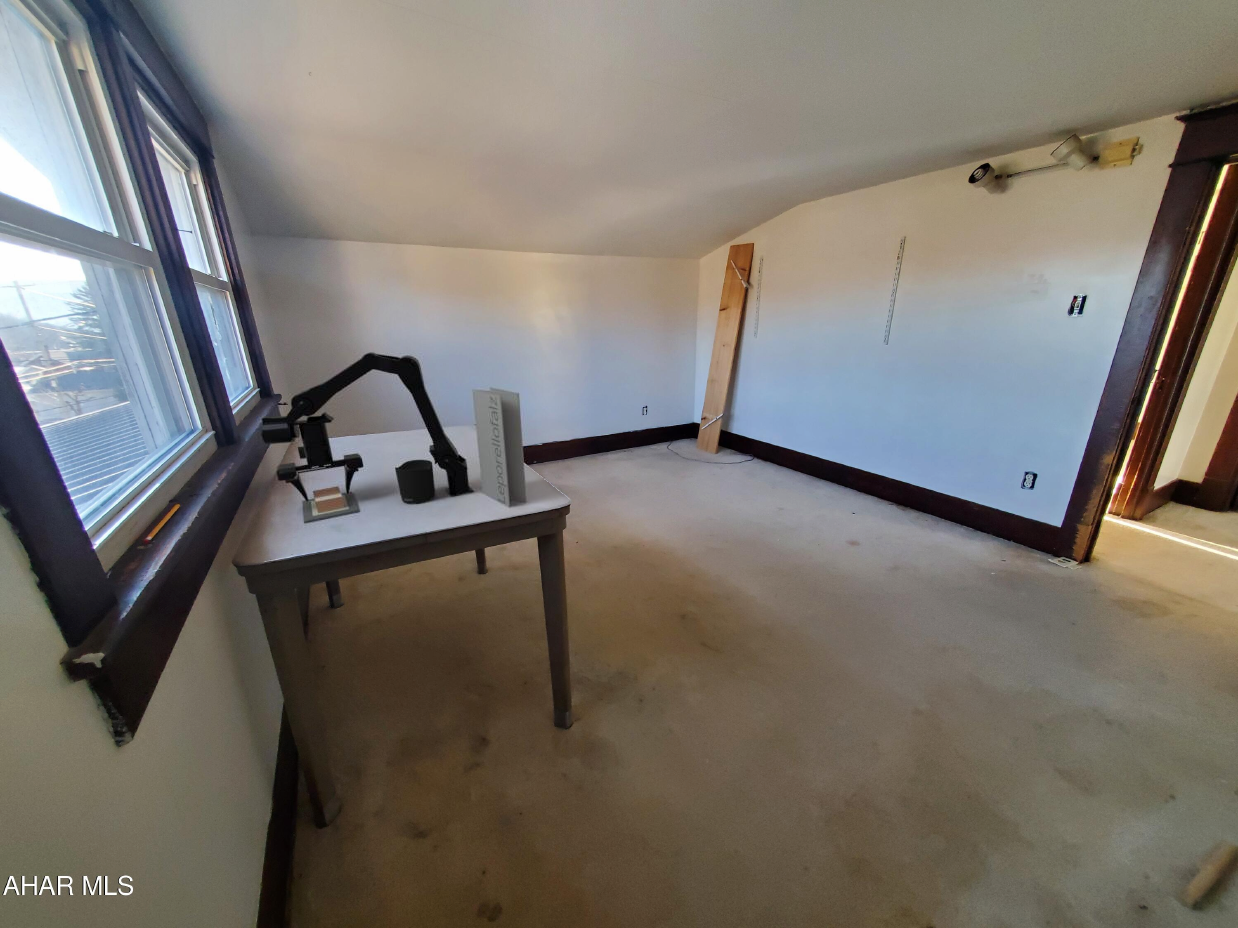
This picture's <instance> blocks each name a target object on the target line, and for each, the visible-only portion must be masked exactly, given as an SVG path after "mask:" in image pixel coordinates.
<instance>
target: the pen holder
mask: <svg viewBox="0 0 1238 928" xmlns="http://www.w3.org/2000/svg"><path fill="white" fill-rule="evenodd" d="M433 468H434V467H433V462H432V461H431V460H429V459H411V460H408V461H406V462H404V463H402V464H401V465H400V466H398V467H394V469H395V475H396V480H397V485H398V488H399V493H400V499H401V502H403V503H405V504H407V505H408V504H409V505H419V504H424V503H427V502H430V501H432V500H433V499H434V498H435V496H436V494H435V493H436V492H435V491H436V489H435V476H434V469H433Z"/></svg>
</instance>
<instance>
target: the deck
mask: <svg viewBox="0 0 1238 928" xmlns="http://www.w3.org/2000/svg"><path fill="white" fill-rule="evenodd" d="M341 493H342V492H341V489H340V487H339V485H338V486H337V485H336V486H331V487H326V488H321V489H316V490H312V494H313V499H315V503H316V507H317V511H318V513H323V512H328V511H332V510H337V509H342V508H345V506H344V501H343V497H342V494H341Z"/></svg>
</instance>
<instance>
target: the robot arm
mask: <svg viewBox="0 0 1238 928" xmlns="http://www.w3.org/2000/svg"><path fill="white" fill-rule="evenodd" d="M373 370H375V371H379V372H384V373H388V374H391V375H392V374H394V375H397V377H398V378H399V379H400V381H401V382H402V384H403V386H405V388H406V389H407V390H408V391H409V393H410V394H411V396H412V398H413V401H414V403H415V405H416V407H417V410H418V412H419V415H420V417H421V418H422V421H423V423H424V425H425V427H426V430H427V432H428V434H429V436H430V438H431V441H432V444H431V445H429V451H428V452H429V453H430V455H431V456H432V458H433V460H434V465H437V466H438V468H440V469H441V470H444V471H445V473H446V479H447V487H445V489H444V491H445V492H446V493H447V494H448V495H449V496H450V497H455V496H459V495H464V494H470V493H473V492H474V489H473V488H472V487H471V486H470V483H469V473H468V463H467V459H466V458H465V457H463V456H462V455H461V454H459V452H458V449H457V448H456V447H455V445H454V444H453V442H452V440H451V439H450V437H448V435H447V434H446V433H445V430H444V428H443V426H442V423H441V421H440V419H439V417H438V415H437V412H436V409H435V407H434V405H433V402H432V401H431V398H430V396H429V394H428V391H427V389H426V386H425V380H424V375H423V371H422V368H421V363H420V362H419V360H418V359H417V358H416V357H414V356H413V355H408V354H407V355H403V356H401V357H399V356H394V355H386V354H380V353H376V352H367V353H365V354H364V355H363V356H362V357H361V358H360V359H358V360H356V361H355V362H354V363H352V364H350V365H349V366H347V367H346V368H344V369H343V370H341V371H340V372H337V374H334V375H333V376H332V377H330V378H329V379H328V380H326V381H324V382H321V383H319V384H316V385H313V386H311V387H309V388H306V389H305V390H302V391H300V392H298V393H297V394H295V395H294V396H293V397H292V398H291V399H290V406H291V409H290V410H289V412H288V413H287V414H286V415H282V416H281V415H280V416H279V415H278V416H269V415H268V416H267V415H266V416H263V417H262V418H261V421H262V424H261V433H260V434H261V435H260V436H261V438H262V441H263V442H264V444H265V445H275V444H276V445H277V444H287V443H295V442H296V439H299V438H300V439H301V441H302V446H297V451H298V456H299V459H300V460H303V459H304V460H305V459H306V464H303V465H301V464H300V465H297V464H296V462H290V463H283V464H278V466H277V467H276V476H277V480H278V481H279V482H282V481H285V483H286V484H289V483H290V484H291V485H292V486H294V488H295V489H297V491H298V492H299V494H300V495H301V496H302V497H303V498H304V499H303V500H306V501H308V499H309V497H308V493H307V490H306V488H305V486H304V483H303V481H302V478H301V476H300V474H305V473H309V472H316V471H322V470H329V469H336V468H341V467H343V468H344V481H345V482H344V483H345V486H344V487H345V491H346V492H347V494H349V492H350V490H351V484H352V481H353V478H354V475H355V473H357V472H359V469H362V468H364V463H363V457H362V456H361V454H359V453H351V454H343V458H342V459H336V460H335V459H334V458H333V453H332V447H331V444H330V440H329V439H330V438H329V434H328V429H327V424H331V423H332V422H333V421H334V420H335V417H333V416H331V415H330V414H328V413H327V412H326V411H325V412H323V413H321V415H315V414H316V413H317V412H319V411H320V410H321V409H322V408H323V407H325V405H326V404H327V403H328V402H330V400H332V399H333V397H334V396H335V395H336V394H338V393H339V392H341V391H342V390H344V389H345V388H347V387H348V386H350V385H351V384H352V383H354V382H356V381H358V380H359V379H361V378H362V377H363V376H365V375H367V374H368V373H369V372H371V371H373ZM303 416H304V417H307V418H306V419H303V420H301V418H302V417H303ZM300 436H301V437H300ZM346 492H345V493H346Z"/></svg>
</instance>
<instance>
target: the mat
mask: <svg viewBox="0 0 1238 928" xmlns="http://www.w3.org/2000/svg"><path fill="white" fill-rule="evenodd" d="M341 494H342V497H343V501H344V506H345V508H342V509H337V510H332V511H328V512H323V513H318V511H317V507H316V503H315V499H314V498H308V501H306V500H305V499H303V500H301V501H302V516H303V517H302V518H303V523H304V524H308V523H314V522H317V521H322V520H323V521H324V520H329V519H333V518H337V517H342V516H347V515H351V514H356V513H360V511H359V507H358V505H357V502H356V499H355V497H354V496H355V495H354V493H353V492H352V491H349V494H347V492H341Z"/></svg>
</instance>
